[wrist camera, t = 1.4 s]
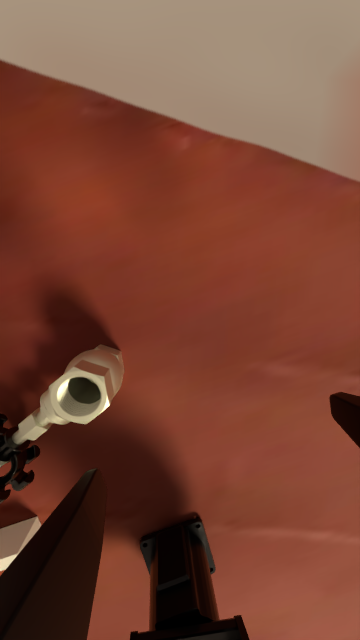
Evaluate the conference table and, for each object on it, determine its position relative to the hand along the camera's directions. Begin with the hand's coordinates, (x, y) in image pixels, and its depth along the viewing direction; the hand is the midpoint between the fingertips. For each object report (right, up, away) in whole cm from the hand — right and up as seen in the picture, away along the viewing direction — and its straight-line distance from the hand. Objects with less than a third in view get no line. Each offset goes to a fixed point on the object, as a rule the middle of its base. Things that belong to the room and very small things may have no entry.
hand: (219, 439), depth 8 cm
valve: (-11, -2, +12) cm, 17 cm away
